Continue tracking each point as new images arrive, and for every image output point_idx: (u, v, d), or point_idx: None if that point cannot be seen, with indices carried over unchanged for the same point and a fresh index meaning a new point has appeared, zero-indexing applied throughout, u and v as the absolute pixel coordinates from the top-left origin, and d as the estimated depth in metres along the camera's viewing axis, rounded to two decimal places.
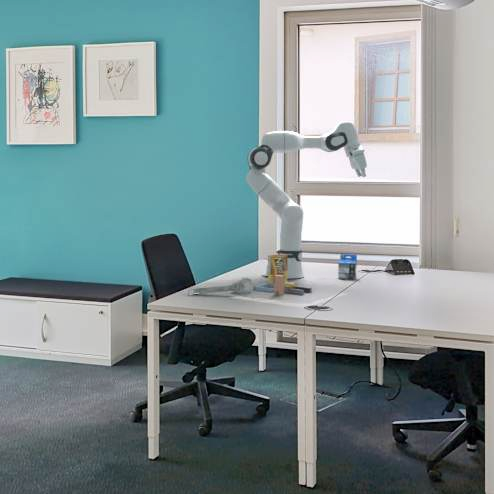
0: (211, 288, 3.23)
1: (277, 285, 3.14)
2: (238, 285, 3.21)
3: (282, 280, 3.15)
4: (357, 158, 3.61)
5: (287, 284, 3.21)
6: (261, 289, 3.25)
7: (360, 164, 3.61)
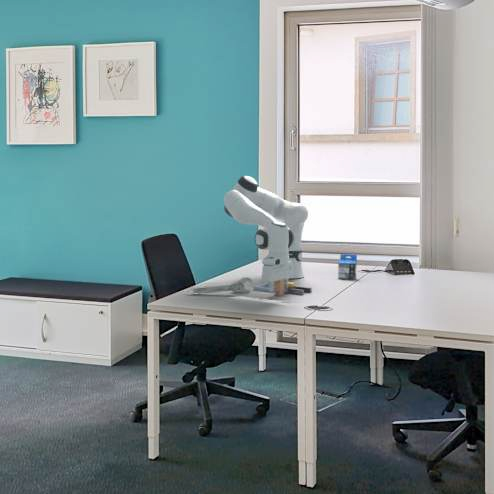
0: (211, 288, 3.23)
1: (277, 285, 3.14)
2: (238, 284, 3.22)
3: (282, 280, 3.15)
4: (263, 268, 3.08)
5: (287, 284, 3.21)
6: (261, 289, 3.25)
7: (263, 276, 3.08)
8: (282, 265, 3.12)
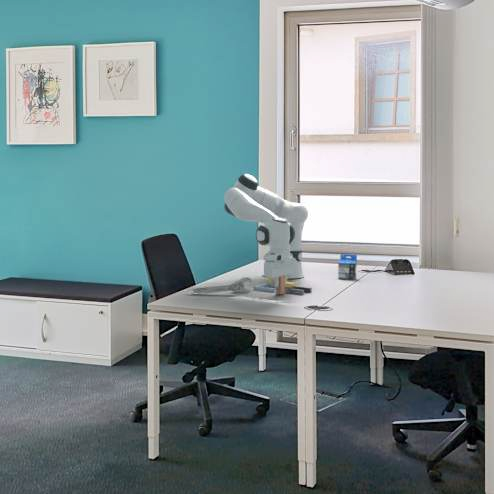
0: (211, 288, 3.24)
1: None
2: (238, 284, 3.23)
3: (283, 276, 3.15)
4: (265, 264, 3.08)
5: (287, 284, 3.21)
6: (261, 289, 3.25)
7: (265, 272, 3.08)
8: (283, 261, 3.12)
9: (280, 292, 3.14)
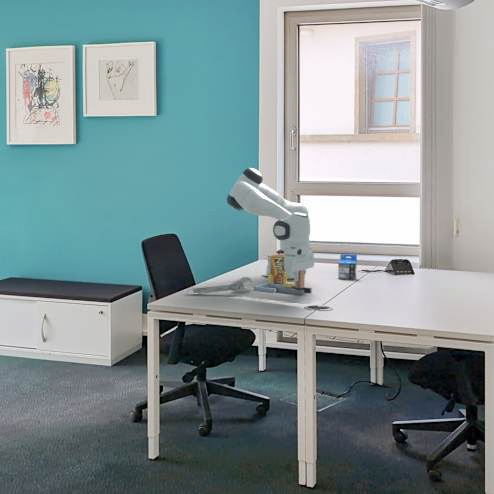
0: (211, 288, 3.24)
1: (298, 275, 3.18)
2: (238, 284, 3.23)
3: (303, 270, 3.19)
4: (285, 258, 3.12)
5: (287, 284, 3.21)
6: (261, 289, 3.25)
7: (285, 266, 3.11)
8: (303, 255, 3.16)
9: (300, 286, 3.18)
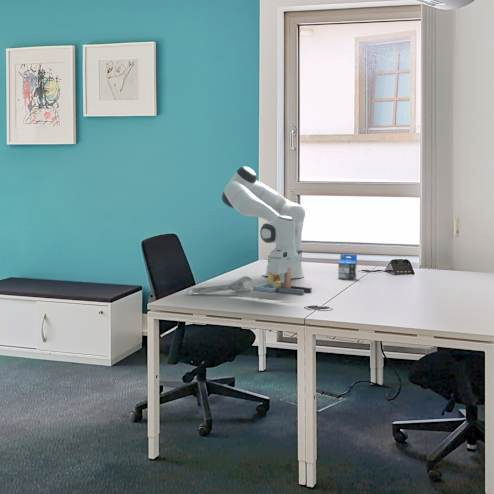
0: (210, 287, 3.24)
1: (284, 277, 3.23)
2: (238, 284, 3.24)
3: (289, 272, 3.23)
4: (271, 261, 3.17)
5: (277, 283, 3.25)
6: (261, 289, 3.25)
7: (271, 269, 3.16)
8: (289, 258, 3.21)
9: None
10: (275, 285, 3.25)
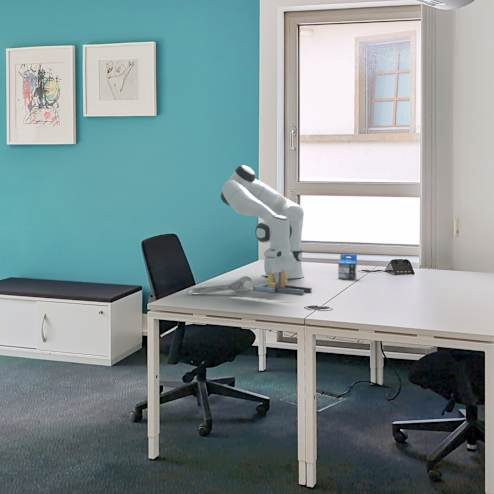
0: (210, 287, 3.24)
1: (279, 276, 3.24)
2: (237, 284, 3.24)
3: (283, 271, 3.25)
4: (265, 260, 3.18)
5: (271, 284, 3.26)
6: (261, 289, 3.25)
7: (265, 268, 3.18)
8: (283, 257, 3.22)
9: None
10: (269, 287, 3.27)
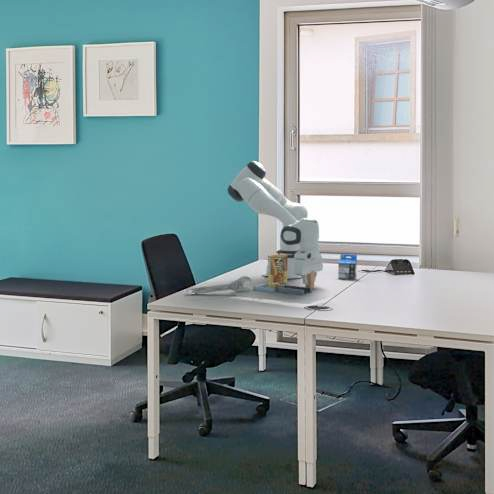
0: (210, 287, 3.25)
1: (308, 279, 3.30)
2: (237, 284, 3.25)
3: (313, 275, 3.30)
4: (295, 262, 3.23)
5: (271, 284, 3.26)
6: (261, 289, 3.25)
7: (295, 270, 3.23)
8: (313, 259, 3.27)
9: None
10: (269, 287, 3.27)
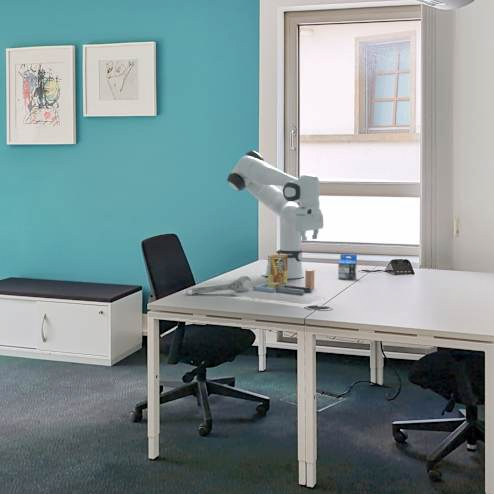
0: (210, 287, 3.25)
1: (308, 279, 3.30)
2: (237, 283, 3.25)
3: (313, 275, 3.30)
4: (296, 218, 3.21)
5: (271, 284, 3.26)
6: (261, 289, 3.25)
7: (296, 225, 3.21)
8: (313, 215, 3.25)
9: None
10: (269, 287, 3.27)
